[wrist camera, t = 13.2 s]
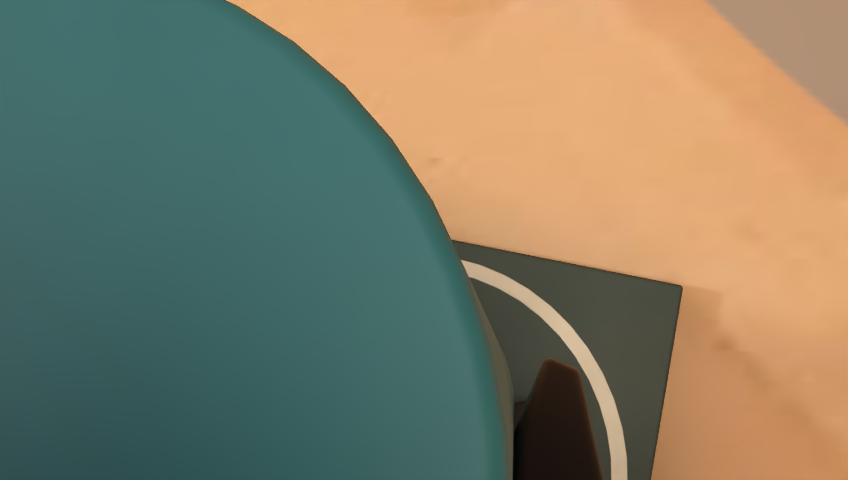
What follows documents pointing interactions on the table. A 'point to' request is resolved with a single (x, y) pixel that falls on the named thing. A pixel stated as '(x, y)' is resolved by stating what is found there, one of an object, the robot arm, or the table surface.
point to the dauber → (222, 264)
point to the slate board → (585, 342)
